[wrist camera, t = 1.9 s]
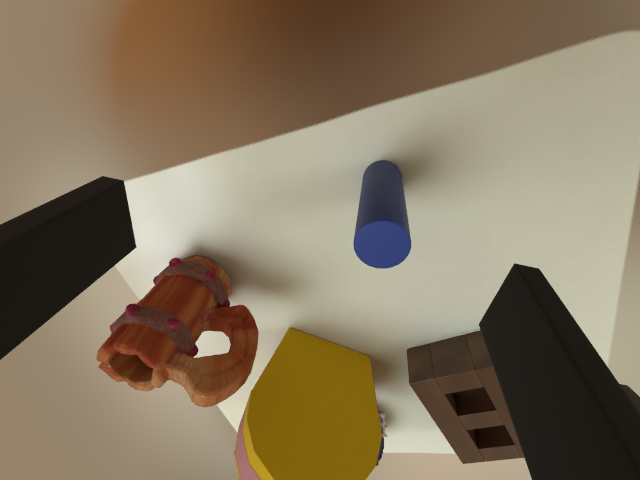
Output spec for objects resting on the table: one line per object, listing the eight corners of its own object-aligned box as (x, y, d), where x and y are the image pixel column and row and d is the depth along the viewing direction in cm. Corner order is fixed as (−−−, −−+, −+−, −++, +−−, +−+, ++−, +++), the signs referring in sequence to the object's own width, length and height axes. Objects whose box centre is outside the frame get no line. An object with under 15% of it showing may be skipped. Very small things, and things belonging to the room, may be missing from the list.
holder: (491, 327, 38) (505, 363, 33) (532, 416, 44) (548, 455, 40) (406, 349, 42) (409, 384, 38) (455, 427, 48) (462, 464, 44)
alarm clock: (264, 359, 48) (206, 512, 32) (277, 323, 43) (217, 480, 28) (359, 393, 48) (348, 560, 32) (382, 360, 43) (381, 536, 28)
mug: (169, 287, 43) (79, 389, 30) (168, 237, 39) (64, 332, 26) (274, 319, 43) (229, 436, 30) (286, 273, 39) (239, 386, 26)
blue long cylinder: (391, 153, 29) (396, 211, 19) (408, 186, 31) (420, 257, 21) (356, 171, 31) (343, 234, 21) (373, 202, 32) (369, 275, 22)
